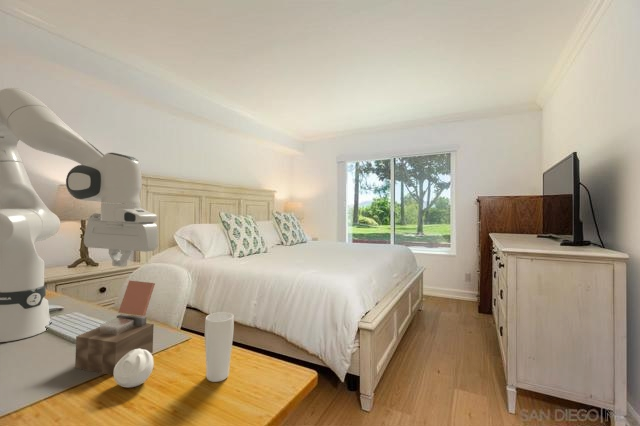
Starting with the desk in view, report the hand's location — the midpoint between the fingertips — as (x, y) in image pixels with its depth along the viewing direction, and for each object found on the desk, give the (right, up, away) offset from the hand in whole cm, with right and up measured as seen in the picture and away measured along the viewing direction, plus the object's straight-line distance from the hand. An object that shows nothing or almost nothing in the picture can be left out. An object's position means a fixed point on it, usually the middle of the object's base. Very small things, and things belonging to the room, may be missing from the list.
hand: (119, 266), depth 78 cm
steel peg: (-1, -24, 0) cm, 24 cm away
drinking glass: (+28, -27, -6) cm, 39 cm away
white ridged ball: (+10, -26, -10) cm, 30 cm away
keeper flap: (+1, -10, +6) cm, 12 cm away
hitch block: (-1, -25, 0) cm, 25 cm away
